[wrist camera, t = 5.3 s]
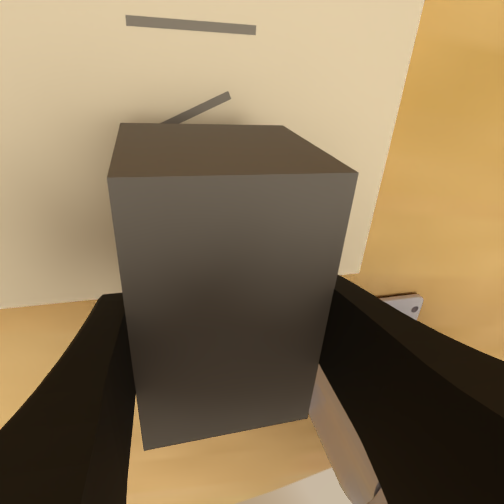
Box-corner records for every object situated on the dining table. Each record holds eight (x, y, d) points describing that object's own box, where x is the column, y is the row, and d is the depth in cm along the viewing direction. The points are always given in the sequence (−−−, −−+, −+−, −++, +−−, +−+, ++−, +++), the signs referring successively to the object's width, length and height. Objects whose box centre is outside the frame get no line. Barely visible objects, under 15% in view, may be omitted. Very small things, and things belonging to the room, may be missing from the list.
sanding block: (263, 318, 16) (307, 418, 12) (143, 332, 15) (143, 451, 10) (282, 125, 12) (358, 172, 8) (120, 122, 11) (106, 178, 7)
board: (346, 259, 21) (359, 273, 20) (-6, 290, 17) (-19, 311, 16) (426, -115, 14) (456, -131, 12) (-193, -239, 9) (-249, -285, 8)
